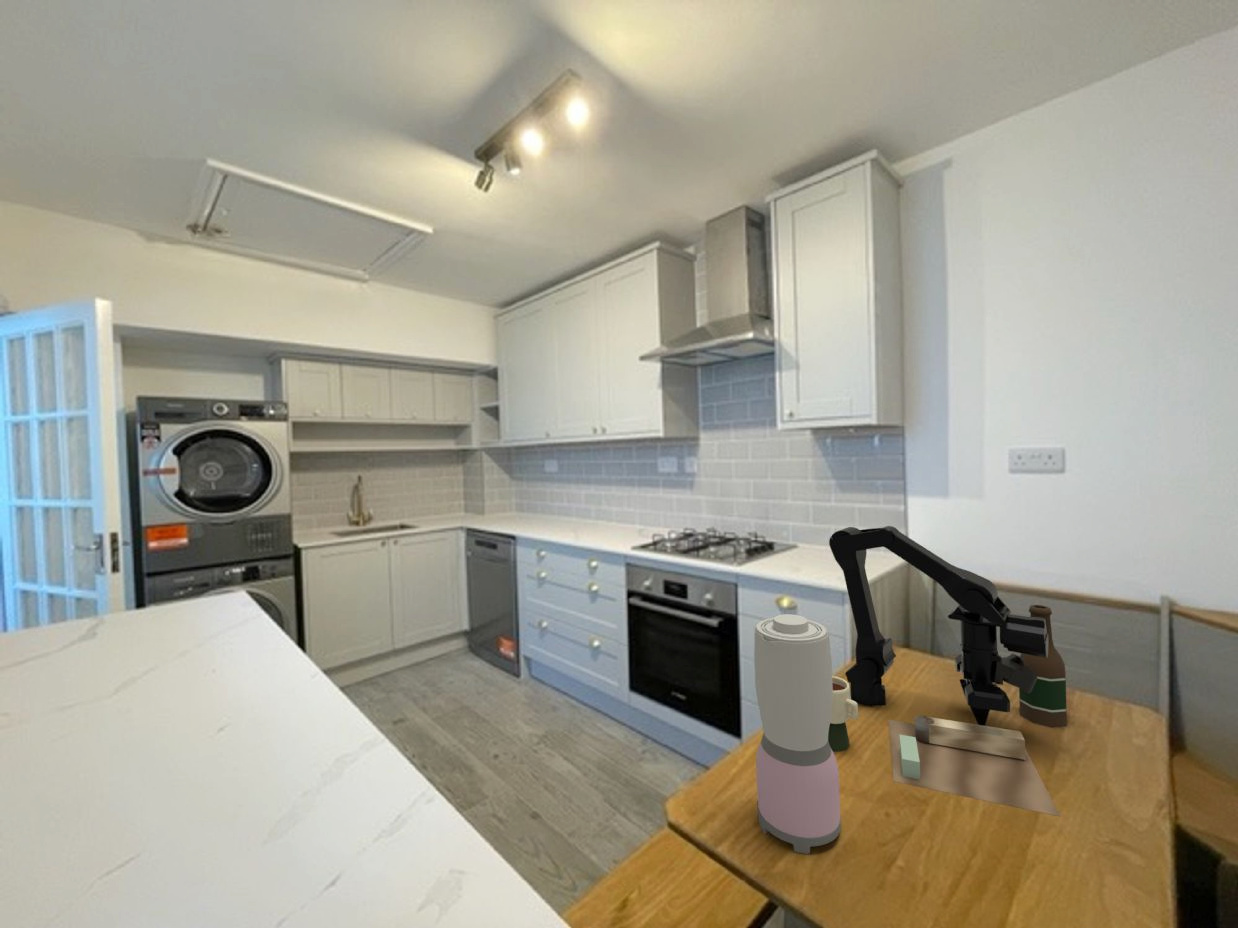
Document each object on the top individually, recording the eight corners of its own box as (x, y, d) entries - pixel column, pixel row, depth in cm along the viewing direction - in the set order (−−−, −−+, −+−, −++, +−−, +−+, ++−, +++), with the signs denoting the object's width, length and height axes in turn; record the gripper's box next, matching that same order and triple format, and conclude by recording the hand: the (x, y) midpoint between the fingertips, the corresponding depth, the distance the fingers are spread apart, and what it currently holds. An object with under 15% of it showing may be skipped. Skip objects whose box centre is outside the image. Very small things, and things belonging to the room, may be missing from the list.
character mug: (870, 755, 96) (867, 687, 95) (848, 770, 91) (846, 699, 91) (817, 731, 104) (815, 668, 104) (796, 743, 100) (793, 678, 100)
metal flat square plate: (893, 789, 86) (893, 780, 86) (888, 726, 105) (888, 719, 105) (1060, 825, 76) (1060, 815, 76) (1021, 749, 95) (1021, 741, 95)
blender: (815, 869, 71) (806, 640, 70) (741, 824, 80) (732, 621, 79) (864, 812, 81) (857, 612, 80) (794, 778, 90) (787, 598, 89)
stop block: (902, 775, 87) (902, 758, 87) (899, 750, 94) (899, 734, 94) (920, 779, 86) (919, 762, 86) (916, 753, 93) (915, 737, 93)
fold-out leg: (916, 740, 97) (915, 722, 96) (914, 731, 99) (914, 714, 99) (1025, 760, 89) (1025, 740, 89) (1020, 750, 92) (1020, 730, 92)
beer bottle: (1057, 717, 105) (1054, 601, 105) (1077, 737, 98) (1073, 613, 97) (1012, 712, 108) (1009, 600, 107) (1028, 732, 101) (1024, 611, 100)
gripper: (1046, 670, 86) (1048, 761, 87) (1019, 633, 103) (1021, 709, 103) (966, 660, 92) (969, 746, 92) (953, 626, 108) (955, 699, 108)
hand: (981, 724), depth 99 cm, fingers closed
